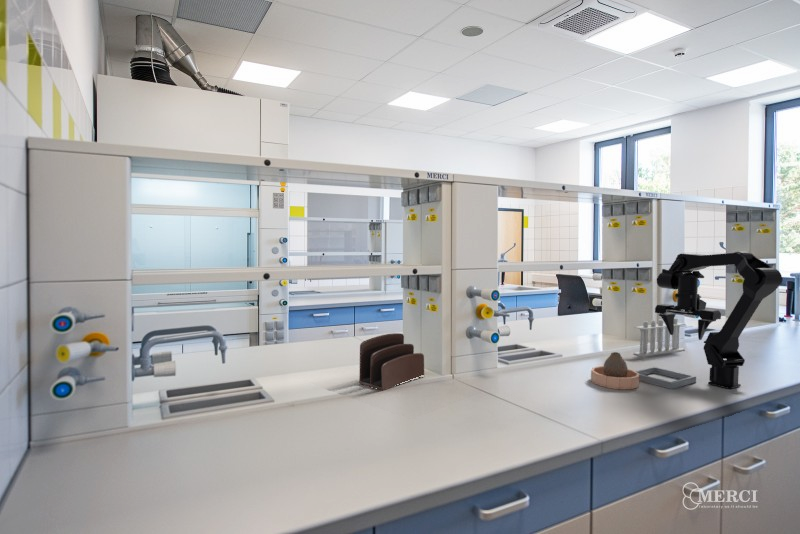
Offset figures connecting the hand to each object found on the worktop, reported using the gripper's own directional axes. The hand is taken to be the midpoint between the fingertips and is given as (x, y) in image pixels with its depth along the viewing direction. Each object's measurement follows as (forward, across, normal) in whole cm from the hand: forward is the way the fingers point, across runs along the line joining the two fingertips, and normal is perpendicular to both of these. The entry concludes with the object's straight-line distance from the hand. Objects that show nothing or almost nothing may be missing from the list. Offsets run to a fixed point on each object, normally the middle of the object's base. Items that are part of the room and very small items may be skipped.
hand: (685, 337), depth 160 cm
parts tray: (+12, -1, +15) cm, 19 cm away
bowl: (+12, +5, +31) cm, 34 cm away
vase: (+12, +5, +31) cm, 33 cm away
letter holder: (+12, +42, +89) cm, 99 cm away
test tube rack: (+12, +21, -22) cm, 33 cm away
